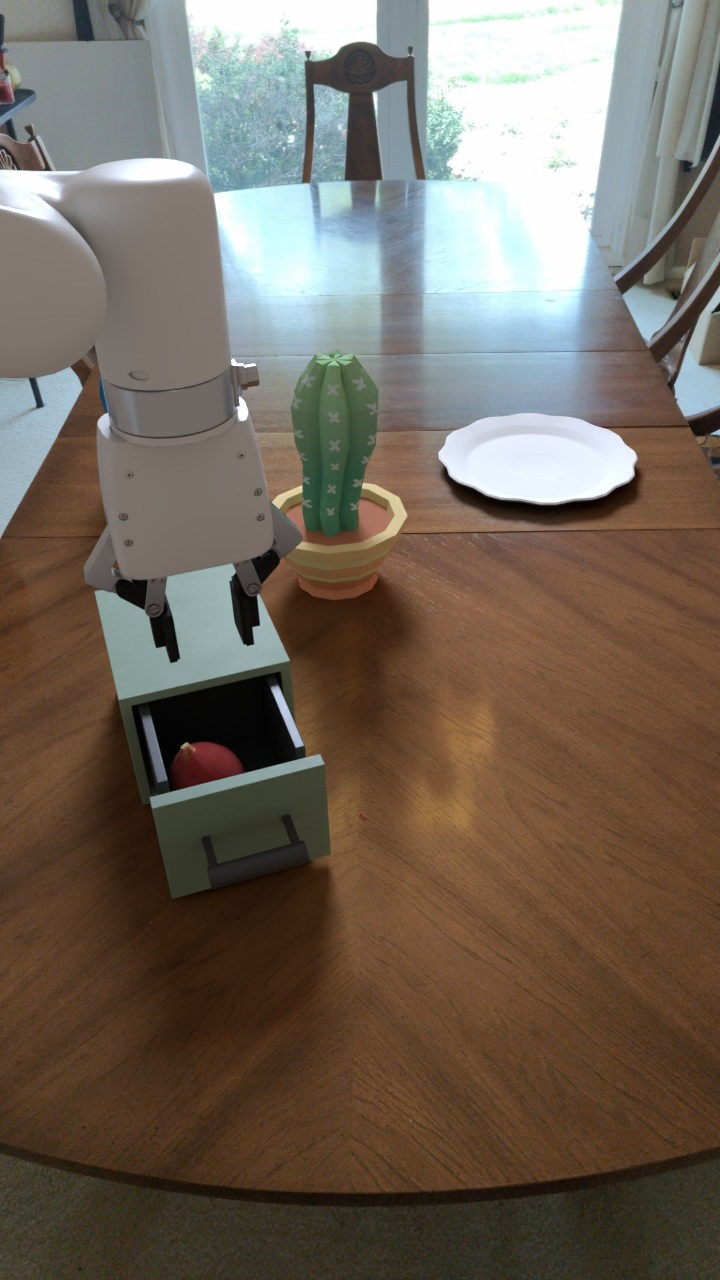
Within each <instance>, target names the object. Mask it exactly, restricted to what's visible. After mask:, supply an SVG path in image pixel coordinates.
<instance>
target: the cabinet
mask: <svg viewBox="0 0 720 1280" xmlns="http://www.w3.org/2000/svg"><path fill="white" fill-rule="evenodd" d="M235 573H236V571H235V568H234V566H233V564H232V563H231V564H227V565H222V566H217V567H212V568H207V569H202V570H197V571H192V572H187V573H182V574H177V575H172V576H167V583H166V592H165V594H166V597H167V600H168V603H169V606H170V609H171V612H172V615H173V620H174V626H175V631H176V637H177V643H178V648H179V654H180V659H178V662H174V663H170V660H169V657H168V654H167V651H166V647H160V648H156V646H155V643H154V639H153V635H152V630H151V625H150V619H149V616H147V615H146V613H145V610H143V609H141V608H139V607H137V606H135V605H133V604H131V603H129V602H128V601H126V600H124V599H122V598H120V597H119V596H118V595H117V594H115V593H113V592H111V593H110V592H107V591H104V590H101V589H98V590H95V591H94V597H95V602H96V606H97V611H98V615H99V620H100V624H101V625H100V626H101V629H102V633H103V639H104V643H105V647H106V651H107V656H108V660H109V665H110V669H111V675H112V678H113V683H114V687H115V691H116V692H115V693H116V696H117V701H118V705H119V709H120V714H121V718H122V723H123V727H124V731H125V736H126V740H127V744H128V748H129V753H130V756H131V761H132V765H133V769H134V775H135V778H136V783H137V787H138V791H139V795H140V796H139V797H140V800H141V805H143V806H145V805H149V804H150V799H149V798H150V797H153V796H157V791H156V787H155V783H154V779H153V775H152V771H151V766H150V762H149V757H148V753H147V748H146V744H145V739H144V734H143V730H142V725H141V721H140V716H139V711H138V707H137V704H141V703H145V702H150V701H154V700H158V699H163V698H167V697H171V696H176V695H180V694H184V693H188V692H193V691H197V690H201V689H206V688H210V687H214V686H219V685H223V684H227V683H232V682H236V681H240V680H245V679H249V678H253V677H258V676H262V675H266V674H271V673H274V675H275V677H276V680H277V682H278V684H279V686H280V689H281V691H282V693H283V696H284V698H285V700H286V703H287V705H288V707H289V710H290V712H291V714H292V717H293V719H294V721H295V724H296V723H297V722H296V712H295V700H294V689H293V679H292V678H293V677H292V676H293V675H292V667H291V659H290V658H289V656H288V653H287V651H286V649H285V646H284V644H283V642H282V640H281V638H280V636H279V633H278V631H277V629H276V627H275V625H274V622H273V620H272V618H271V615H270V614H269V611H268V609H267V607H266V605H265V603H264V600H263V599H262V596H261V593H260V594H259V595H257V600H258V609H259V618H260V626H256V627H253V636H254V645H250V646H247V645H243V642H242V640H241V637H240V635H239V632H238V630H237V627H236V625H235V621H234V614H233V606H232V599H231V591H230V583H229V581H231V580H232V578H231V576H233V575H234V574H235ZM296 725H297V724H296Z"/></svg>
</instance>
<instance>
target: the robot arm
mask: <svg viewBox="0 0 720 1280" xmlns="http://www.w3.org/2000/svg"><path fill="white" fill-rule="evenodd" d="M212 186H213V185H212V184H211V182H210V180H209V178H208V177H207V176H206V175H205V173H204V172H203V171H202V170H201V169H199V168H198V167H197V166H196V165H194V164H191V163H188V162H186V161H182V160H178V159H172V158H163V157H161V158H160V157H146V158H145V157H141V158H129V159H121V160H114V161H109V162H104V163H101V164H97V165H95V166H92V167H90V168H87V169H84V170H21V169H20V170H19V169H18V170H17V169H0V378H1V379H16V380H17V379H18V380H19V379H35V378H41V377H47V376H50V375H55V374H57V373H59V372H62V371H63V370H66V369H68V368H70V367H72V366H73V365H75V364H76V363H77V362H80V360H82V359H83V358H84V357H85V356H86V355H87V354H88V353H89V352H90V350H91V349H92V348H93V347H94V348H95V353H96V359H97V364H98V369H99V374H100V377H101V379H102V385H103V390H104V395H105V400H106V405H107V410H108V413H106V412H105V413H104V414H102V416H100V417H99V418H98V419H97V423H96V457H97V459H96V460H97V468H98V469H97V470H98V478H99V485H100V493H101V498H102V499H101V500H102V505H103V511H104V518H105V524H106V526H105V528H104V529H103V531H102V533H101V535H100V537H99V539H98V540H97V542H96V544H95V546H94V547H93V549H92V551H91V553H90V554H89V556H88V558H87V560H86V562H85V563H84V566H82V573H83V578H84V582H85V584H86V585H88V586H90V587H92V588H95V589H98V590H104V591H107V592H110V593H111V592H113V593H115V594H117V595H118V596H119V597H120V598H122V599H124V600H126V601H128V602H129V603H131V604H133V605H135V606H137V607H139V608H141V609H143V610H145V613H146V615H147V616H149V619H150V625H151V630H152V635H153V639H154V643H155V646H156V648H160V647H166V651H167V654H168V657H169V660H170V663H174V662H178V659H180V654H179V648H178V643H177V637H176V631H175V626H174V620H173V615H172V612H171V609H170V606H169V603H168V600H167V597H166V594H165V592H166V583H167V577H168V576H173V575H178V574H183V573H188V572H193V571H198V570H203V569H208V568H213V567H218V566H223V565H228V564H233V566H234V568H235V571H236V573H235V574H234V575H233V576H231V578H232V580H231V581H229V583H230V591H231V599H232V606H233V614H234V621H235V625H236V627H237V630H238V632H239V635H240V637H241V640H242V642H243V645H247V646H250V645H254V636H253V627H256V626H260V618H259V609H258V600H257V595H259V594H260V595H261V593H262V591H263V584H264V583H265V582H266V580H267V579H268V578H269V577H270V576H271V574H272V573H273V572H274V571H275V570H276V569H277V568H278V567H279V565H280V563H281V560H282V559H284V558H285V557H286V556H287V555H288V554H289V553H290V552H291V551H292V550H294V549H295V548H296V547H297V546H298V545H299V544H300V543H301V542H302V540H303V536H302V534H301V532H300V531H299V529H298V527H297V526H296V525H295V524H294V523H293V522H292V521H291V520H290V519H289V518H288V517H287V516H286V515H285V514H284V513H283V512H282V511H281V510H279V509H278V508H277V507H276V506H275V505H274V504H273V503H272V502H273V501H271V500H270V497H269V496H270V495H269V490H268V484H267V480H266V474H265V469H264V468H265V467H264V464H263V459H262V454H261V451H260V447H259V442H258V438H257V437H258V436H257V434H256V430H255V427H254V424H253V421H252V418H251V415H250V412H249V408H248V405H247V403H246V401H245V400H244V399H243V398H242V395H243V394H242V393H243V391H247V390H248V388H253V387H254V388H255V387H259V386H260V374H259V369H258V366H257V364H256V363H255V362H253V363H246V364H244V363H243V362H237V361H236V359H235V358H233V353H232V352H233V351H232V344H231V334H230V327H229V316H228V315H229V314H228V306H227V298H226V297H227V296H226V287H225V278H224V268H223V259H222V251H221V242H220V234H219V233H220V232H219V224H218V214H217V206H216V200H215V194H214V193H215V192H214V190H213V187H212ZM283 557H284V558H283ZM115 563H117V566H118V568H119V569H117V568H116V567H114V565H115Z"/></svg>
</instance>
